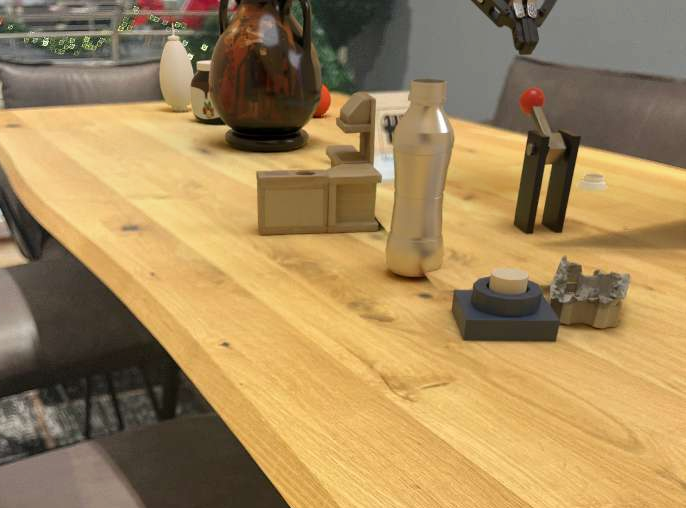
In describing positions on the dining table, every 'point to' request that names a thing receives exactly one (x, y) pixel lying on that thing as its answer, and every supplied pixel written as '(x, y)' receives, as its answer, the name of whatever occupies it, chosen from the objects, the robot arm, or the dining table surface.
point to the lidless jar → (592, 182)
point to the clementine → (323, 102)
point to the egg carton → (587, 295)
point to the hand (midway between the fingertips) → (528, 50)
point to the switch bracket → (556, 187)
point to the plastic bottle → (420, 181)
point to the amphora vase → (265, 75)
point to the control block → (504, 314)
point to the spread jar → (203, 96)
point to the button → (508, 281)
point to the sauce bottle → (175, 74)
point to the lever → (542, 123)
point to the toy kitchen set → (326, 184)
